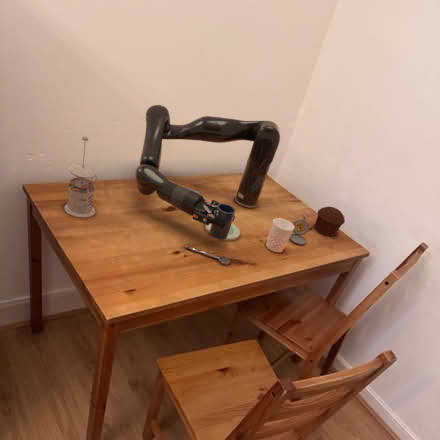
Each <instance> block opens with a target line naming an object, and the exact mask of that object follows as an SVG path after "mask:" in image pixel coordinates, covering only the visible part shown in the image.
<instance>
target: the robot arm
mask: <svg viewBox="0 0 440 440" xmlns="http://www.w3.org/2000/svg"><path fill="white" fill-rule="evenodd" d="M145 122H146V123H145V132H144V133H145V134H144V139H143V144H142V150H141V154H140V158H139V165H138V166H137V167H136V169H135V171H134V172H135V173H134V174H135V182H136V183H135V184H136V189H137V191H138V192H139V193H140V194H141V195H143V196H151V195H153V194H155V193H156V196H157V197H158V198H159V199H160V200H162V201H164V202H165V203H168V204H169V205H171V206H173V207H174V208H176V209H178V210H180V211H181V212H184V213H186V214H188V215H189V216H191V217H192V220H194V221H196V222H199V223H201V224H203V225H204V226H205V225H209V224H215V225H217V226H218V227H220V228H224V227H225V225H226V222H224V221H222V220H220V219H218V218H215V216H214V215H215V211H216V208H217V205H218V204H221V202H218V201H217V200H215V199H212V200H211V202H209V201H204V196H203V194H201V193H200V194H201V195H200V194H198V193H196V192H194V191H192V190H190V189H188V188H189V187H186V186H183V185H181V184H178V183H176V182H174V181H172V180H170V179H169V178H168V177H167V176H166V175H165V174H163V173H162V172H161V171H160V165H161V160H162V154H163V140H165V141H166V140H167V141H168V140H169V141H170V140H172V141H173V140H185V141H199V142H207V143H214V144H224V143H231V142H236V141H237V142H238V141H248V142H253V143H252V146H251V148H250V152H249V154H248V157H247V160H246V163H245V166H244V170H243V173H242V176H241V178H240V182H239V185H238V188H237V191H236V195H235V196H234V202H235V203H236V204H238V205H239V206H241V207H243V208H248V209H255V208H256V207H257V205H258V201H259V199H260V196H261V193H262V190H263V188H264V185H265V182H266V178H267V175H268V173H269V170H270V168H271V165H272V163H273V161H274V158H275V156H276V153H277V150H278V148H279V145H280V142H281V130H280V127H279V125H278V124H277V123H275V122H274V121H271V120H242V119H235V118H229V117H220V116H210V115H203V116H201V117H199V118H195V119H194V120H192V121H190V122H188V123H184V124H171V115H170V111H169V109H168V108H167V107H166V106H164V105H161V104H154V105H151V106H149V107H148V108H147V109H146V112H145ZM235 218H236V214H235V215H234V218H233V221H232V222H234V221H235Z"/></svg>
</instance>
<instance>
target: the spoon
mask: <svg viewBox="0 0 440 440" xmlns="http://www.w3.org/2000/svg"><path fill="white" fill-rule="evenodd" d="M185 249H186V250H189V251H192V252H194V253H196V254H197V253H198V254H200V255H203V256H205V257H208V258H212V259H214V260H217V261H218V262H219V264H221V265H223V266H229V265H230V263H231V260H230V259H229V258H228V257H226V256H218V255H214V254H212V253H210V252H206V251H203V250H201V249H198V248H195V247H192V246H189V245H186V246H185Z"/></svg>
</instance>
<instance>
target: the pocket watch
mask: <svg viewBox="0 0 440 440" xmlns="http://www.w3.org/2000/svg"><path fill="white" fill-rule="evenodd" d="M301 217H302V218H298V219H296V220H295V221H293V223H292V224H293V225H294V230H293V232H292V234H291V236H290V238H289V241H291V242H292V243H294V244H295V245H300V246H303V245H305V244H306V242H307V240H306V238H305V237H303V236H304V235H305V234H307V233H308V232H309V230H310V223H309V222H308V221H307V219H309V215H308V213H302V214H301Z"/></svg>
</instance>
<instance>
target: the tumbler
mask: <svg viewBox="0 0 440 440" xmlns="http://www.w3.org/2000/svg"><path fill="white" fill-rule="evenodd" d="M214 213H215V215H214V216H215V218H218V219H220V220H222V221H224V222H226V225H225V227H224V228H220V227H218V226H217V225H215V224H212V225H211V228H210V234H209V235H210V236H211V237H212V238H214V239H216V240H222V241H224V240H223V239H226V238H227V236H228V233H229V230H230V227H231V224H232V223H233V222H234V221H233V218H234V215H235V216H236V213H237V210H236V207H233V206H232V205H230V204H228V203H220V204H218V205H217V208H216V210H215V212H214ZM234 219H235V218H234Z"/></svg>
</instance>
